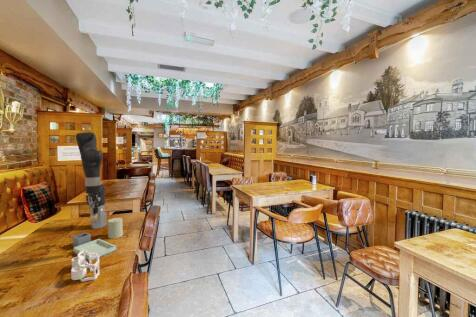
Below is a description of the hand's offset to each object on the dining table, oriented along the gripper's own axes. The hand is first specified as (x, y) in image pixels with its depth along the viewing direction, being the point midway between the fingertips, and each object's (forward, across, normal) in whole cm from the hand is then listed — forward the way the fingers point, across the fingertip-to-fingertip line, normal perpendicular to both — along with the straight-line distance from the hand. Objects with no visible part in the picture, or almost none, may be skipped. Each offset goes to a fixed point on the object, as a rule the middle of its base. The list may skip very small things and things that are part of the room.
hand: (93, 213), depth 123 cm
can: (+24, +12, -19) cm, 33 cm away
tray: (+24, 0, 0) cm, 24 cm away
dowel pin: (+6, 0, 0) cm, 6 cm away
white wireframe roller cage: (+24, -18, +13) cm, 32 cm away
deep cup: (+24, +16, 0) cm, 29 cm away
